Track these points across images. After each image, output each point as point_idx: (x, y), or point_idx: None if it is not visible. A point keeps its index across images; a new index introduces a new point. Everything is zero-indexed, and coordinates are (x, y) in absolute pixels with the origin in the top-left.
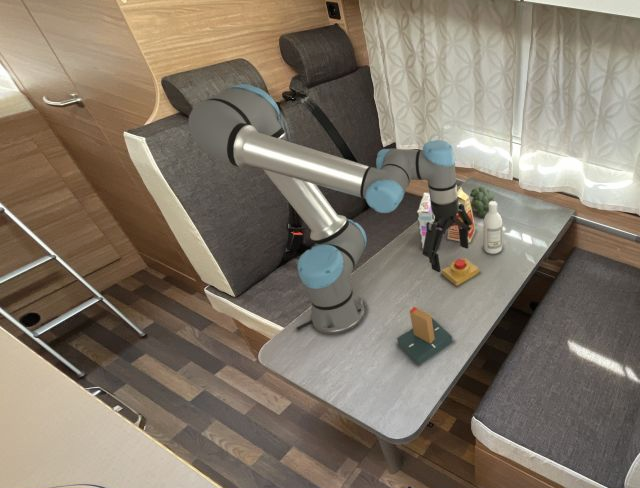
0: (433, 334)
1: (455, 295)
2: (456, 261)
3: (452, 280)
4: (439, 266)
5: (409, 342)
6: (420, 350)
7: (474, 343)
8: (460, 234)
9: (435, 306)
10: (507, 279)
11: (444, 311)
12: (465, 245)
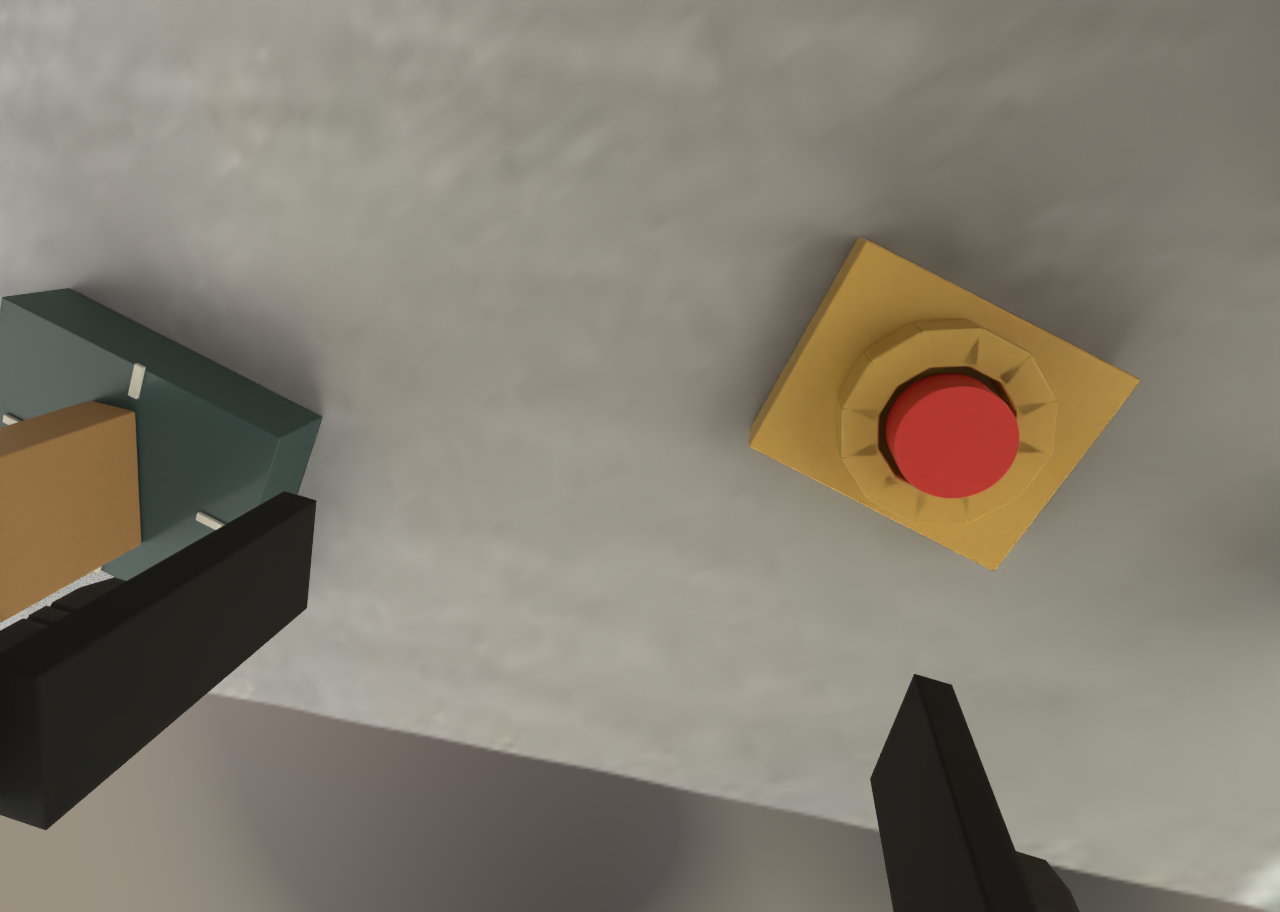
0: (92, 567)
1: (643, 460)
2: (956, 403)
3: (778, 386)
4: (241, 653)
5: (30, 400)
6: None
7: (323, 710)
8: (961, 897)
9: (473, 363)
10: None
11: (459, 449)
12: (885, 801)
